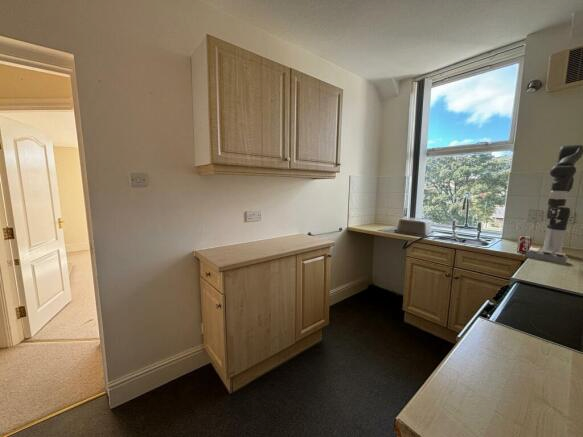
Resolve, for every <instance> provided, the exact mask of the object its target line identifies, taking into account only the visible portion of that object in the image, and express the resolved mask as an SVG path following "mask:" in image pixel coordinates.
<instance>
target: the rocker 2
mask: <svg viewBox="0 0 583 437" xmlns="http://www.w3.org/2000/svg"><path fill="white" fill-rule="evenodd" d="M555 254H557V255H563V256H567V255H566V252H565V253H563V252H561V253H559V252H556V253H555Z"/></svg>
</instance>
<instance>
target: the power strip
mask: <svg viewBox="0 0 583 437" xmlns="http://www.w3.org/2000/svg"><path fill="white" fill-rule="evenodd" d="M525 258H528V259H533V260H538V261H545V262H549V263H553V264H558V265H559V264H560V265H563V266H564V265H566V264H567V263H568V258H569V256H568V255H566V256H565V255H560V254H553V253H548V252H543V251H539V250H538V252H533V251H529V250H527V251H526V254H525Z"/></svg>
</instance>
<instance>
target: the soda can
mask: <svg viewBox="0 0 583 437" xmlns="http://www.w3.org/2000/svg"><path fill="white" fill-rule="evenodd" d="M532 241H533V238H532V237H531V236H529V235H520V236H519V237H518V241H517V247H516V252H517V253H519V252H520V254H524V253H526V251H527V250H529V249H530V247H531V246H532V243H533V242H532Z"/></svg>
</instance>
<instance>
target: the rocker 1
mask: <svg viewBox="0 0 583 437" xmlns="http://www.w3.org/2000/svg"><path fill="white" fill-rule="evenodd" d="M539 250H540V247H538V246H532V245H531V247H530V249H529V251H533V252H538V251H539Z"/></svg>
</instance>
